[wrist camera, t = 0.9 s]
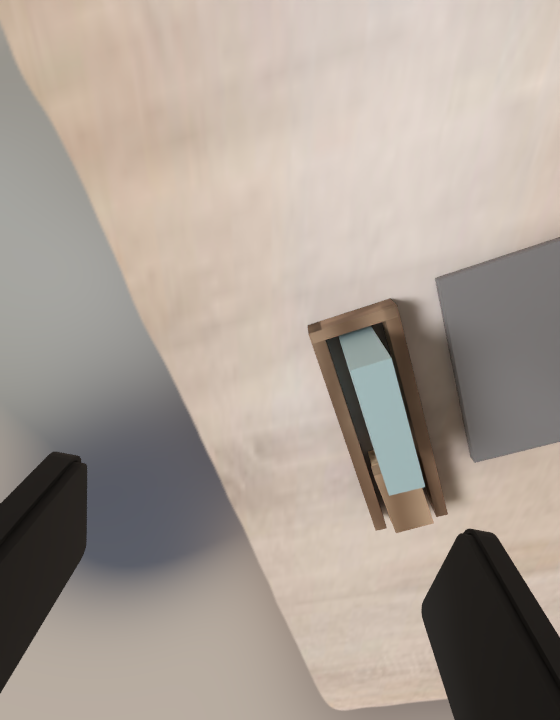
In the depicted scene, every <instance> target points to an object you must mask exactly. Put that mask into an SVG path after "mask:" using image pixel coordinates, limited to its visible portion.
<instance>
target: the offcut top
mask: <svg viewBox="0 0 560 720" xmlns="http://www.w3.org/2000/svg"><path fill="white" fill-rule="evenodd" d="M371 468H372V472H373V475H374V478H375V480H376V483H377V485H378V488H379V490H380V493H381V496H382V498H383V501H384V503H385V506H386V508H387V511H388V514H389V516H390V519H391V521H392V524H393V526H394V529H395V532H396V533H398V532H402V531H406V530H410V529H414V528H417V527H421V526H425V525H429V524H432V523H434V522H433V519H432V516H431V513H430V510H429V507H428V504H427V501H426V498H425V495H424V492H423V489H422V488H419V489H415V490H411V491H407V492H402V493H398V494H394V495H390V496H389V494H388V491H387V488H386V485H385V482H384V479H383V476H382V473H381V470H380V467H379V464H377V465H373V466H371Z"/></svg>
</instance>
